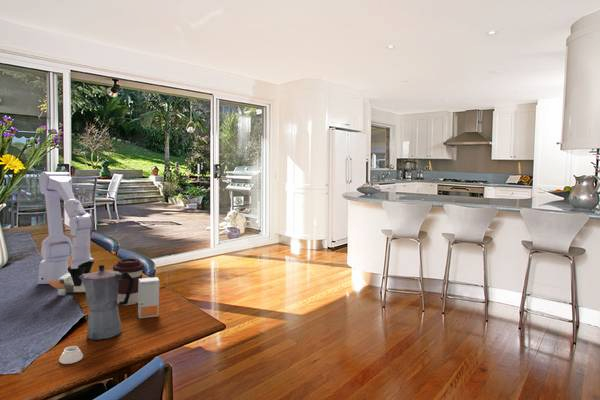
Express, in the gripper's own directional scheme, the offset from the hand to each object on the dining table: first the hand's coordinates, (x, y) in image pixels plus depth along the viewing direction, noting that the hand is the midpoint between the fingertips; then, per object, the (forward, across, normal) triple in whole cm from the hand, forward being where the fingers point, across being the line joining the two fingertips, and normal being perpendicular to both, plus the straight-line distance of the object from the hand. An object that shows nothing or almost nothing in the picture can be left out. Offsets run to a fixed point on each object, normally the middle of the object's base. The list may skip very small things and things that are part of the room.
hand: (81, 282), depth 144 cm
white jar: (+4, -54, -16) cm, 56 cm away
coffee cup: (+4, -13, -20) cm, 24 cm away
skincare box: (+4, -26, -28) cm, 39 cm away
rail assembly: (+3, 0, -2) cm, 4 cm away
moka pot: (+4, -39, -20) cm, 44 cm away
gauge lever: (-1, -8, +5) cm, 10 cm away
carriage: (+3, 0, 0) cm, 3 cm away
